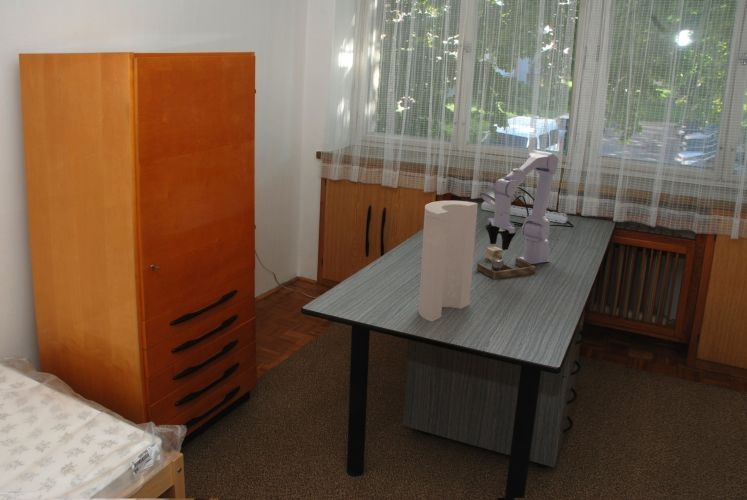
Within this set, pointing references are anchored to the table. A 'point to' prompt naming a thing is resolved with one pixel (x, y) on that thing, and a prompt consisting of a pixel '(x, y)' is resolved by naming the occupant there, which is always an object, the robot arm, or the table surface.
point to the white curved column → (447, 256)
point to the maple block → (494, 253)
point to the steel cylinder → (497, 265)
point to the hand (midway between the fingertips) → (499, 246)
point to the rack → (508, 270)
